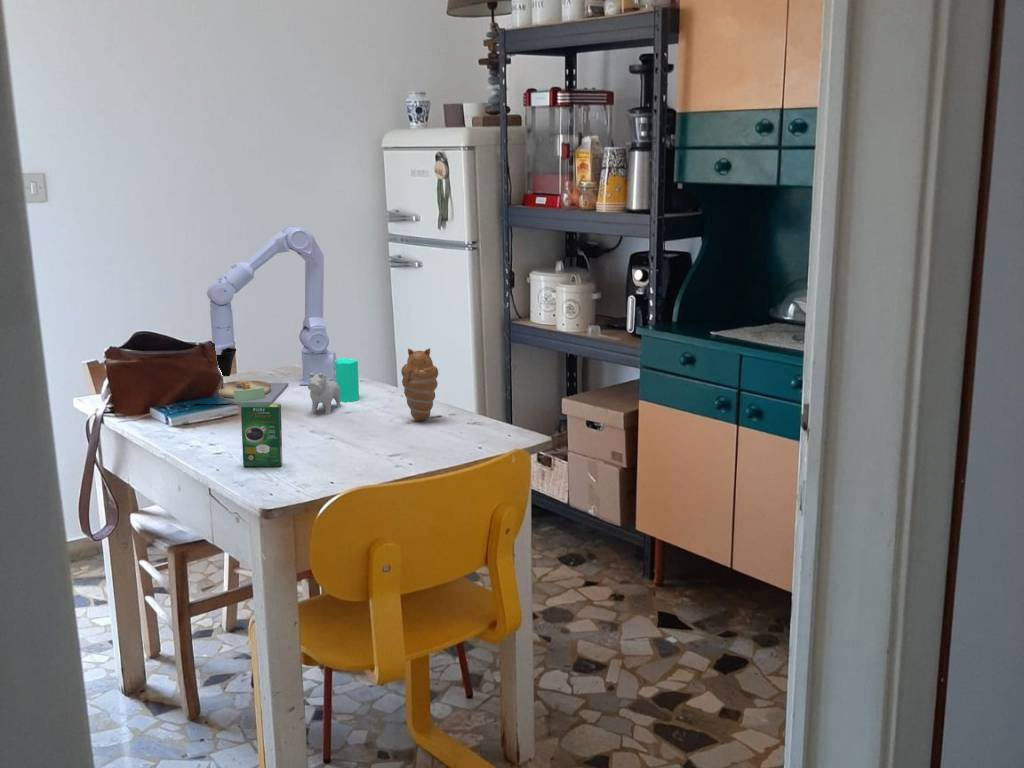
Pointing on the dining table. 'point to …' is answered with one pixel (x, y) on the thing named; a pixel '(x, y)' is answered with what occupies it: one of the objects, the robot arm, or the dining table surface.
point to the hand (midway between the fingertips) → (225, 375)
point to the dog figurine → (323, 392)
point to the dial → (242, 387)
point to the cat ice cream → (419, 383)
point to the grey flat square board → (266, 395)
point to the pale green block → (249, 394)
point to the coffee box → (261, 435)
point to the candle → (347, 379)
